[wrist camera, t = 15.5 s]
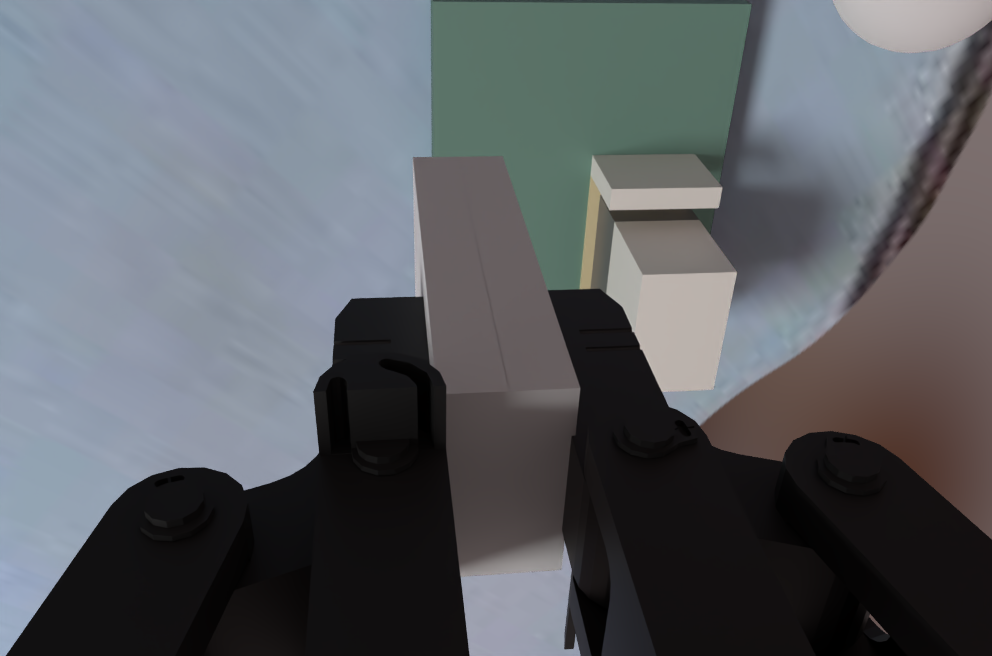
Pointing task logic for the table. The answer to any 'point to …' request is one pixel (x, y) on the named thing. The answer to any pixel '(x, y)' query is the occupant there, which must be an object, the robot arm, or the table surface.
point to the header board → (589, 108)
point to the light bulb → (914, 22)
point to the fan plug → (667, 289)
